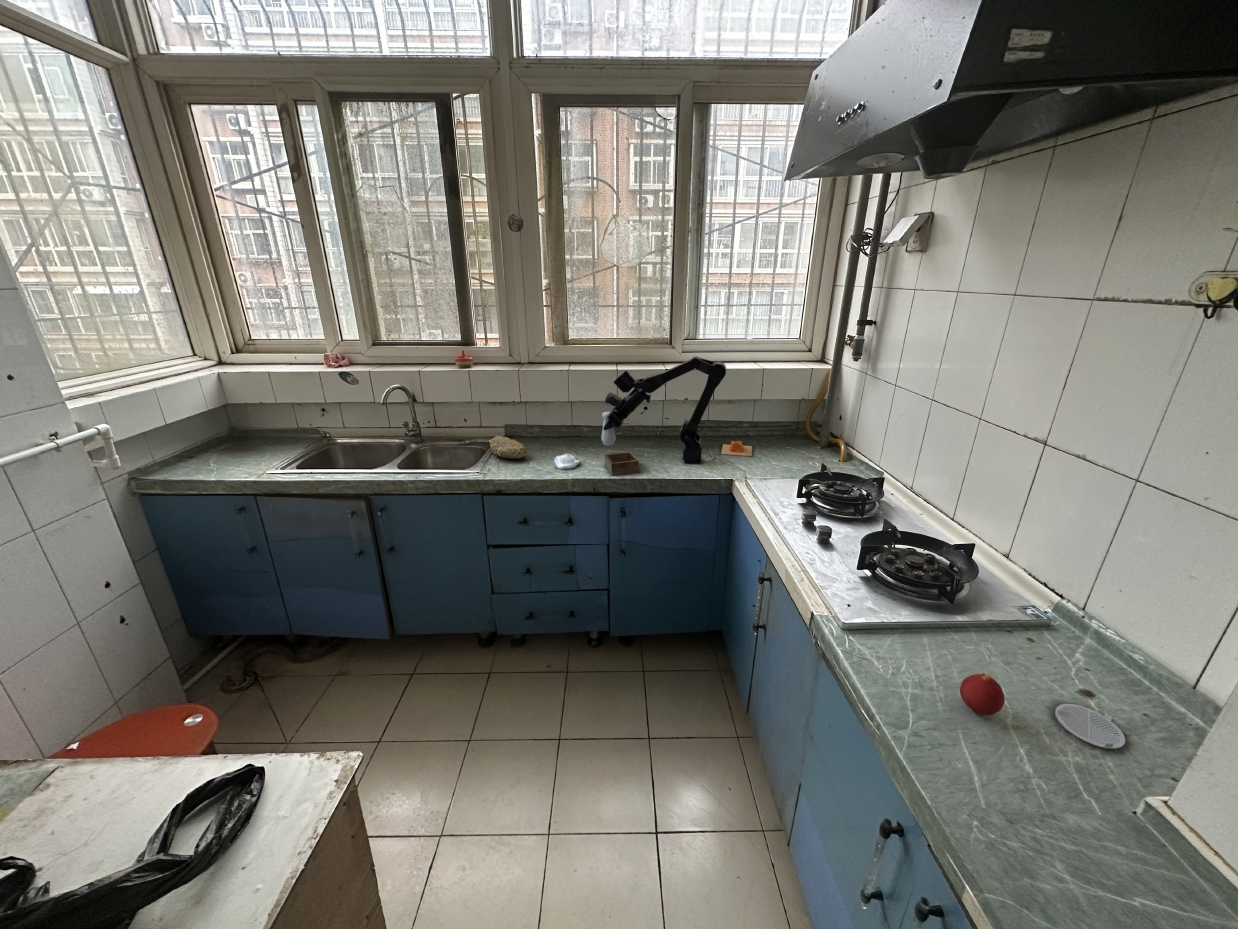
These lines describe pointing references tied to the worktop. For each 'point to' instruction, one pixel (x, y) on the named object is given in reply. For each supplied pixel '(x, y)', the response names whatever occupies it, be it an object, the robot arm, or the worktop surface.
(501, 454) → the tan oval lump
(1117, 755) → the worktop surface
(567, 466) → the white lumpy mound
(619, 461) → the box
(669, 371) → the robot arm
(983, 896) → the worktop surface
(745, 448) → the board with orange mound
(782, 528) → the worktop surface
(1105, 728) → the drain cover
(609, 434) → the salt shaker
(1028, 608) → the worktop surface
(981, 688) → the onion
